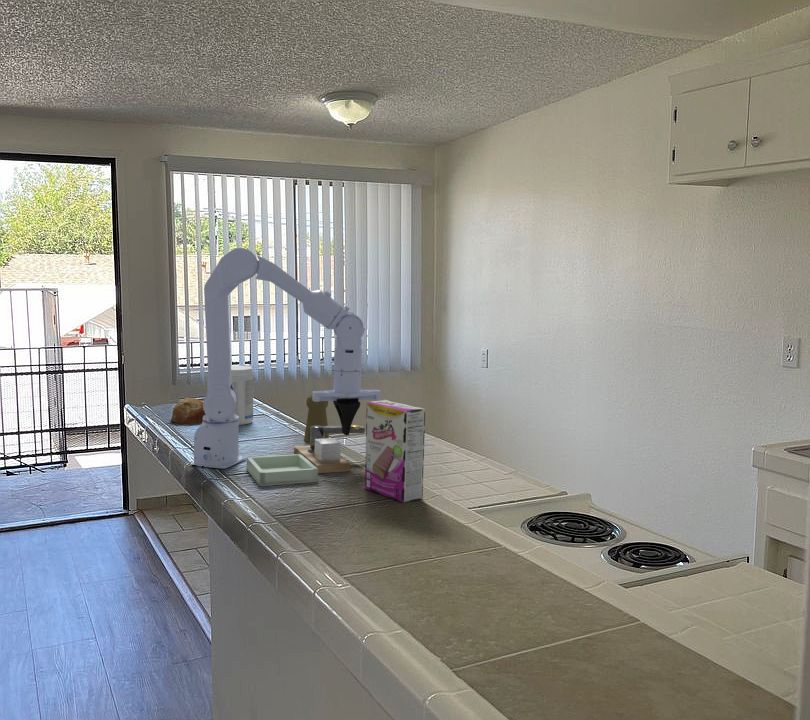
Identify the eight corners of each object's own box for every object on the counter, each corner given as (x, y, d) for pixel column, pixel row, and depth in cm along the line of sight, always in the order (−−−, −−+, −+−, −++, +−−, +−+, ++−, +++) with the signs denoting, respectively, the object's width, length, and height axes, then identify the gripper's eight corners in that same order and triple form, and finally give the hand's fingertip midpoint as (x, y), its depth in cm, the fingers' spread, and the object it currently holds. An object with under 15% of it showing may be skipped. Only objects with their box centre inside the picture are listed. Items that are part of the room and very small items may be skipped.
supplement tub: (242, 418, 206) (243, 364, 205) (259, 424, 199) (260, 368, 197) (209, 421, 200) (209, 366, 199) (225, 427, 193) (226, 370, 191)
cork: (324, 443, 177) (325, 397, 176) (300, 441, 178) (301, 395, 177) (332, 438, 183) (333, 393, 182) (308, 436, 184) (309, 392, 183)
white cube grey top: (314, 457, 156) (314, 439, 156) (333, 455, 158) (333, 438, 158) (321, 462, 152) (321, 444, 151) (340, 461, 153) (340, 442, 153)
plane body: (293, 453, 166) (293, 445, 166) (324, 451, 169) (324, 443, 169) (316, 473, 150) (316, 463, 149) (350, 470, 152) (350, 461, 152)
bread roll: (175, 431, 204) (162, 405, 202) (210, 413, 208) (198, 388, 206) (181, 438, 195) (167, 411, 193) (217, 420, 199) (204, 393, 197)
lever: (310, 449, 160) (310, 427, 160) (309, 446, 163) (310, 424, 162) (364, 449, 162) (364, 427, 161) (363, 446, 165) (363, 424, 164)
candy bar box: (362, 489, 139) (365, 401, 137) (383, 485, 142) (386, 399, 141) (402, 504, 131) (405, 410, 129) (424, 499, 134) (427, 407, 132)
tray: (246, 469, 151) (246, 457, 151) (300, 465, 155) (300, 453, 155) (260, 486, 139) (260, 473, 139) (318, 481, 143) (318, 468, 143)
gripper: (319, 373, 152) (318, 439, 154) (386, 372, 158) (384, 436, 159) (310, 369, 159) (308, 432, 160) (375, 368, 164) (373, 430, 166)
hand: (345, 434), depth 160 cm, fingers closed, pressing on lever
